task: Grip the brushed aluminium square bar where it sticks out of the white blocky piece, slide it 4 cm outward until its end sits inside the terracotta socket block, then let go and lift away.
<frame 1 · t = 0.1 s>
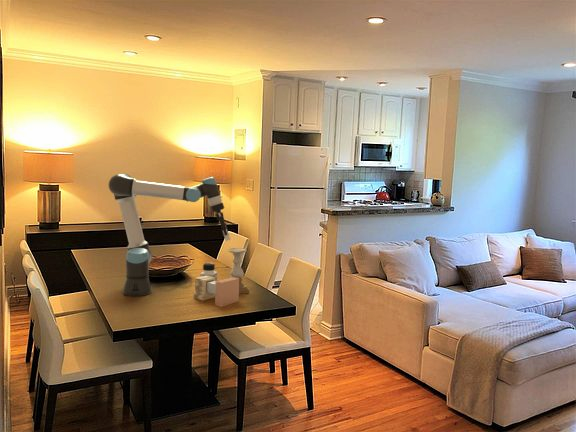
hand: (227, 238, 286), 28 cm above the table, tool tilted 20°, fingers open, 13 cm apart
slip bar: (211, 286, 260), point 7 cm above the table, slide at 0.0 cm
white blocky piece: (205, 297, 263), on the table
socket block: (227, 303, 254), on the table
candle holder: (236, 291, 277), on the table
container: (208, 285, 288), on the table
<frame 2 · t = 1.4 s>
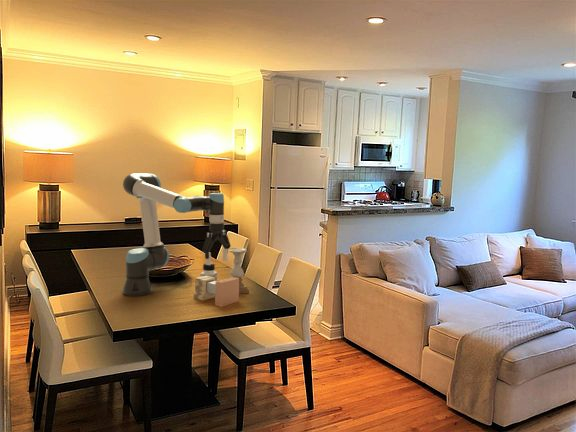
hand: (216, 262, 260), 19 cm above the table, tool pointing down, fingers open, 13 cm apart
nothing on the table moved.
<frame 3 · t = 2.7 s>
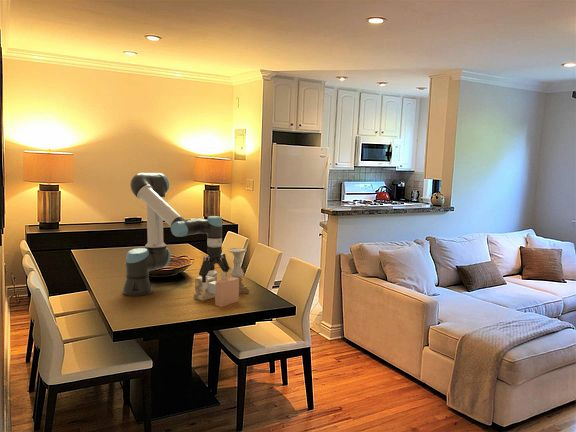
hand: (214, 286, 258), 7 cm above the table, tool pointing down, fingers open, 13 cm apart
nothing on the table moved.
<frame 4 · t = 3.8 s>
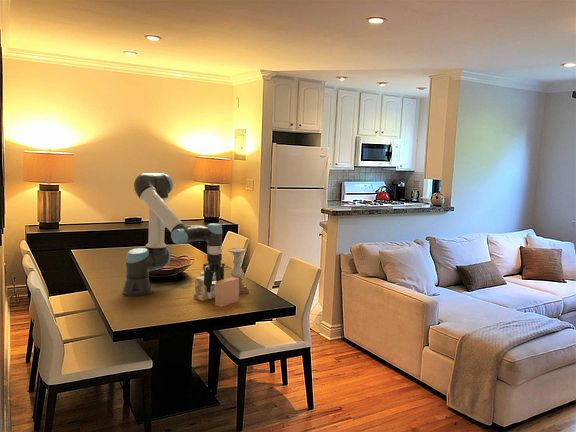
hand: (213, 296, 259), 2 cm above the table, tool pointing down, fingers closed on slip bar, 5 cm apart
slip bar: (211, 286, 260), point 7 cm above the table, slide at 0.0 cm, touching gripper
everything else where it was.
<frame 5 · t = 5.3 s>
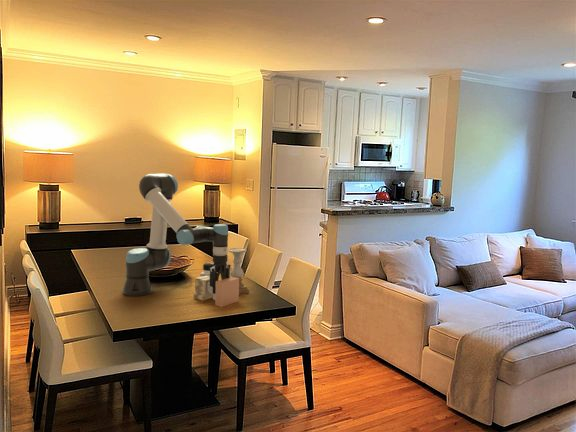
hand: (219, 298, 257), 2 cm above the table, tool pointing down, fingers closed on slip bar, 5 cm apart
slip bar: (217, 287, 257), point 7 cm above the table, slide at 4.1 cm, touching gripper
everything else where it was.
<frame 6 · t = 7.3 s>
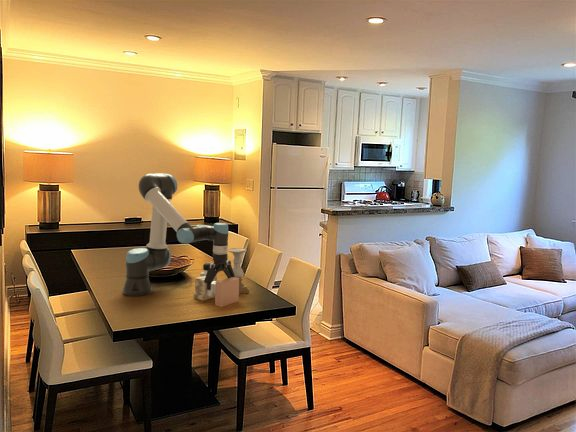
hand: (219, 293, 257), 4 cm above the table, tool pointing down, fingers open, 13 cm apart
slip bar: (217, 287, 257), point 7 cm above the table, slide at 4.0 cm
everything else where it was.
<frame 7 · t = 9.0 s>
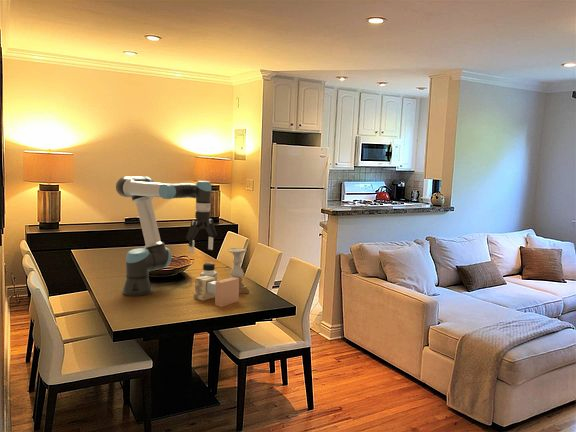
hand: (201, 251, 258), 25 cm above the table, tool pointing down, fingers open, 13 cm apart
nothing on the table moved.
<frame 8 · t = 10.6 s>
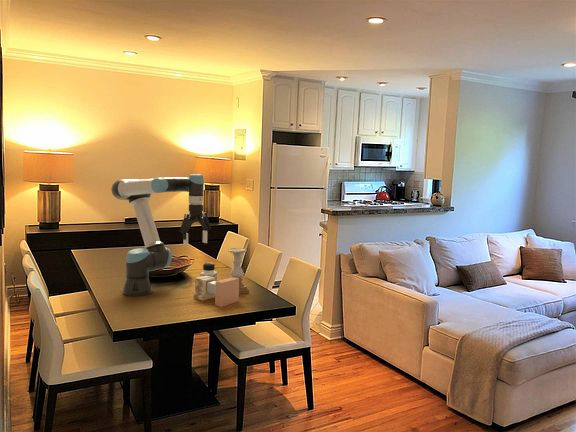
hand: (195, 244, 259), 29 cm above the table, tool pointing down, fingers open, 13 cm apart
nothing on the table moved.
at the end: slip bar slide at 4.0 cm; the gripper is holding nothing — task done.
